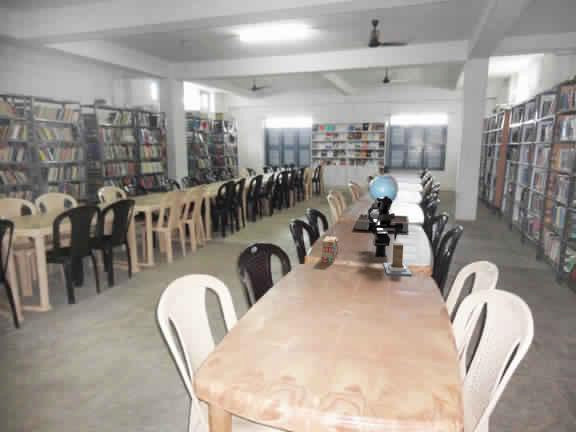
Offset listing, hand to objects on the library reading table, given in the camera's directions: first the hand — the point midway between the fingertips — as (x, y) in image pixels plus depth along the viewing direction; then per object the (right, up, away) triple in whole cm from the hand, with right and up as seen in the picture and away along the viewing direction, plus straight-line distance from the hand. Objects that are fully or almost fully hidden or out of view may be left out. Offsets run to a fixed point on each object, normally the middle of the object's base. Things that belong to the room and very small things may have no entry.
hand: (386, 240), depth 212 cm
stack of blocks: (-28, -11, +15) cm, 34 cm away
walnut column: (+3, -14, -10) cm, 17 cm away
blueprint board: (+3, -15, -9) cm, 18 cm away
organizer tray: (+21, +3, +99) cm, 101 cm away
